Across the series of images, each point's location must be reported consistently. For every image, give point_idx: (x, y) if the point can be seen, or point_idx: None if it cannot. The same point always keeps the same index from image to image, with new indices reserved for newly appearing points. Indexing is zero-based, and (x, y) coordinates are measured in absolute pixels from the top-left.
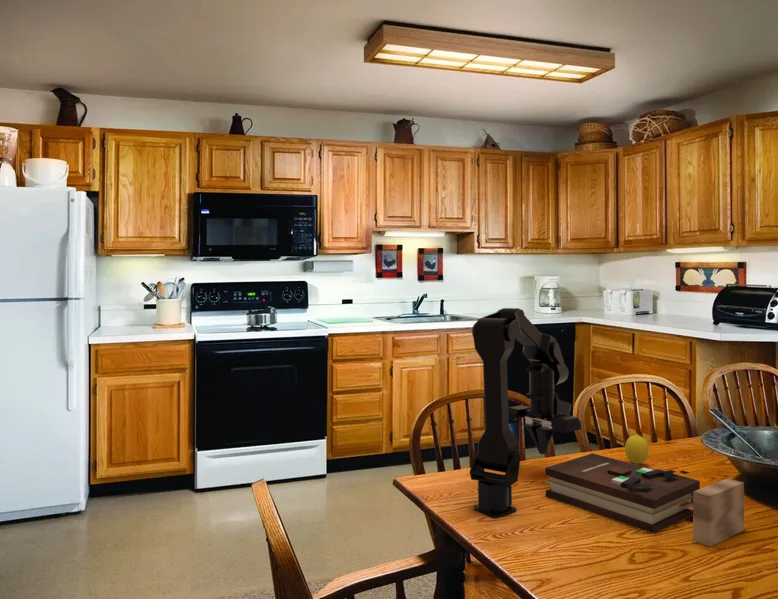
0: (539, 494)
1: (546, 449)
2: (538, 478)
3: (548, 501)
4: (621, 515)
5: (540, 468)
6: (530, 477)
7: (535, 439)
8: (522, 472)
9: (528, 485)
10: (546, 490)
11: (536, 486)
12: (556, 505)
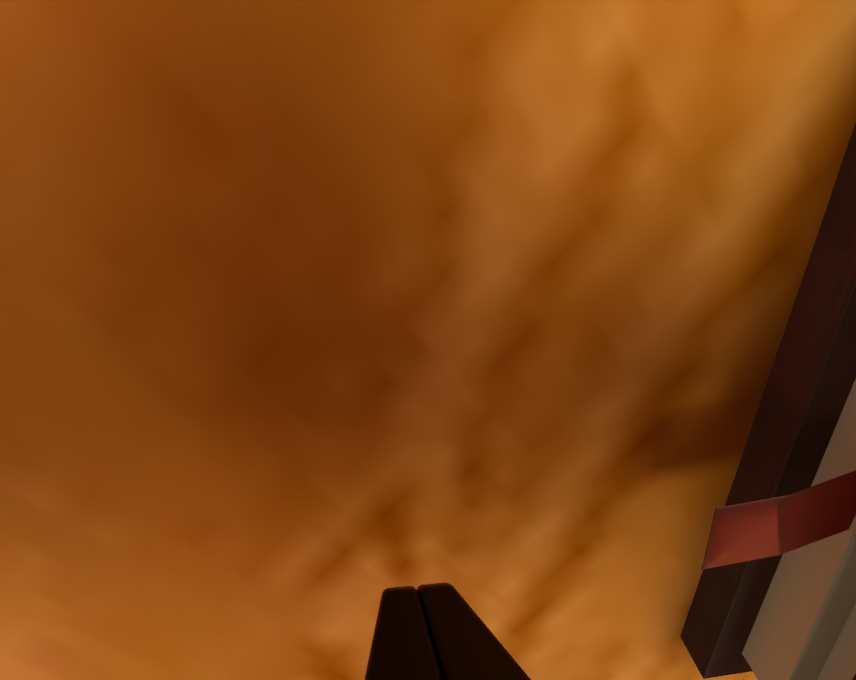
0: (625, 649)
1: (497, 647)
2: (358, 428)
3: None
4: None
5: (25, 97)
6: (272, 471)
7: None
8: (52, 430)
9: None
10: (708, 673)
11: (501, 575)
12: None
